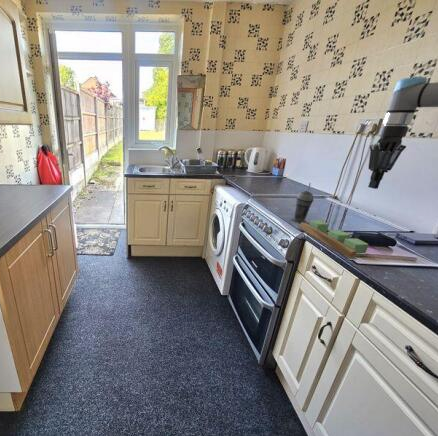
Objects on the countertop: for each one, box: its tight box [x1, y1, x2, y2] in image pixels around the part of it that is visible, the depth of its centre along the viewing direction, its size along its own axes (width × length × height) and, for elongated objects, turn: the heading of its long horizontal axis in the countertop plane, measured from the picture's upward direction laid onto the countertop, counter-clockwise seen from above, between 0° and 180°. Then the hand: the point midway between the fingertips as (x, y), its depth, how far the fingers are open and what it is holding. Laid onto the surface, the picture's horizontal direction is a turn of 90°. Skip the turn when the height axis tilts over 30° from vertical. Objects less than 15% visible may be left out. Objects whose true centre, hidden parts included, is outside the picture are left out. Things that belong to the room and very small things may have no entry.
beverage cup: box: [293, 182, 314, 224], centre depth 121 cm, size 7×7×20 cm
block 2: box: [344, 238, 370, 257], centre depth 93 cm, size 5×5×5 cm
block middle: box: [327, 229, 351, 244], centre depth 101 cm, size 5×5×5 cm
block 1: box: [308, 219, 330, 234], centre depth 111 cm, size 5×5×5 cm
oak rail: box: [299, 221, 357, 260], centre depth 103 cm, size 2×28×3 cm, turn 5°
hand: (372, 187), depth 99 cm, fingers closed
